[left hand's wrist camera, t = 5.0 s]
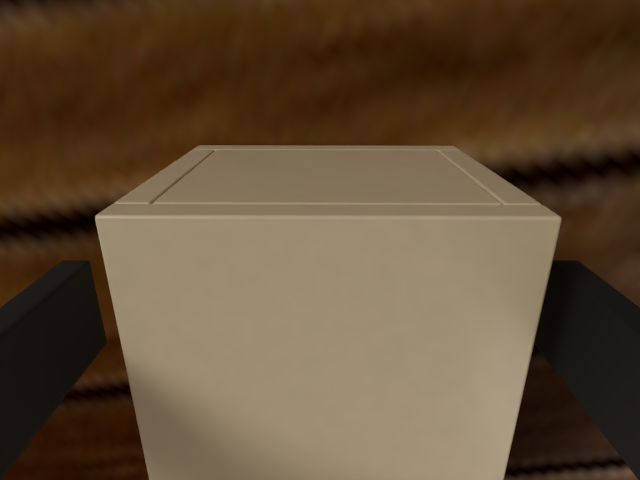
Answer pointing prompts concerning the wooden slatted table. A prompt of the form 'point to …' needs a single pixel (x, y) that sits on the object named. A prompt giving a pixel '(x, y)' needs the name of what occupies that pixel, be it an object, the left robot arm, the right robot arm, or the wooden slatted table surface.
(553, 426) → the wooden slatted table surface
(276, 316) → the cabinet
